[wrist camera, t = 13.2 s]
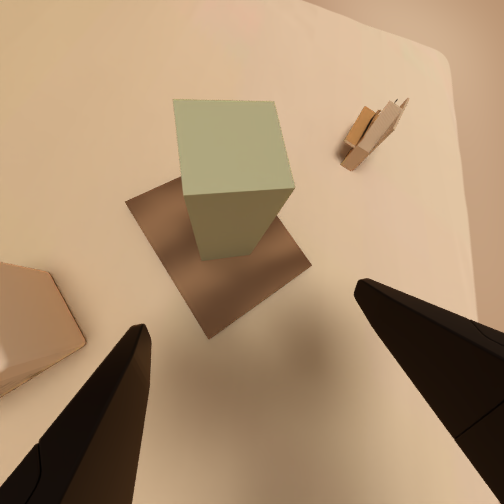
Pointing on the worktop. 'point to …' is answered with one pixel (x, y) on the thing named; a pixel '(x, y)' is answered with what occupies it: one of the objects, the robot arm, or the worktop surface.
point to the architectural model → (371, 132)
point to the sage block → (231, 172)
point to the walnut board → (214, 260)
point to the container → (32, 325)
